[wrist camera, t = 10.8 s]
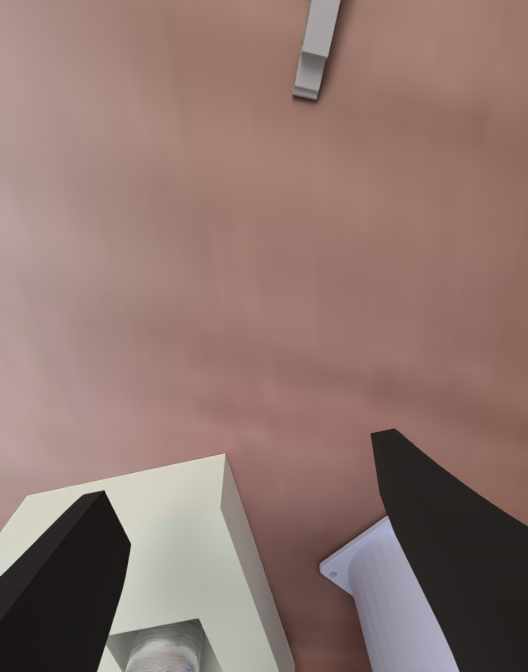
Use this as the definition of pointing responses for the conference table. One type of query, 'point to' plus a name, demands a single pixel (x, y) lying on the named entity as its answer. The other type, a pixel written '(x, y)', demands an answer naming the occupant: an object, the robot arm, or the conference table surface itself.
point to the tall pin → (167, 648)
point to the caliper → (315, 46)
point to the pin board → (177, 563)
